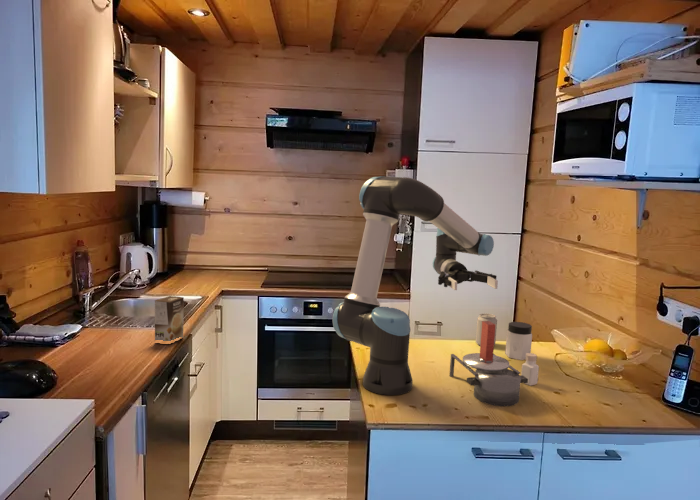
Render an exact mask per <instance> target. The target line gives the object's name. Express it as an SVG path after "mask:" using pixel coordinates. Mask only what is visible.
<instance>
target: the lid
mask: <svg viewBox="0 0 700 500" xmlns="http://www.w3.org/2000/svg"><path fill="white" fill-rule="evenodd" d="M494 337H495V324H494V323H492V322H490V321H482V332H481V345H480V346H479V352H476V353H475V352H473V353H468V354H464V355H463V357H462V361H463V363H464V364H466V365H467V366H469V367H470V368H471V369H475V370H476V369H479V370H484V371H503V370H506V369H510V368H509V365H510V362H509V360H508V359H506V358H504V357H501V356H498V355H496V354H495V355H493V354H494V349H495V345H494Z"/></svg>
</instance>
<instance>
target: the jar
mask: <svg viewBox="0 0 700 500" xmlns="http://www.w3.org/2000/svg"><path fill="white" fill-rule="evenodd" d="M532 330H533V326H532V324H530V323H527V322H521V321H510V322H509V323H508V327H507V330H506V342H505V353H504V354H505V355H506V356H507V358H509V359H514V360H518V361H524V360H525V361H526V354H527V353H532V340H533V333H532Z"/></svg>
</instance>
